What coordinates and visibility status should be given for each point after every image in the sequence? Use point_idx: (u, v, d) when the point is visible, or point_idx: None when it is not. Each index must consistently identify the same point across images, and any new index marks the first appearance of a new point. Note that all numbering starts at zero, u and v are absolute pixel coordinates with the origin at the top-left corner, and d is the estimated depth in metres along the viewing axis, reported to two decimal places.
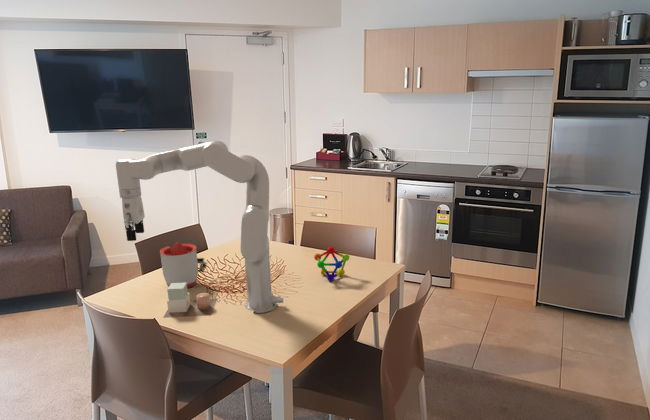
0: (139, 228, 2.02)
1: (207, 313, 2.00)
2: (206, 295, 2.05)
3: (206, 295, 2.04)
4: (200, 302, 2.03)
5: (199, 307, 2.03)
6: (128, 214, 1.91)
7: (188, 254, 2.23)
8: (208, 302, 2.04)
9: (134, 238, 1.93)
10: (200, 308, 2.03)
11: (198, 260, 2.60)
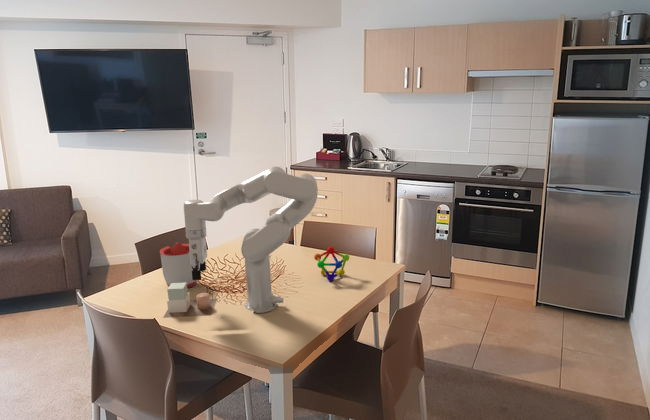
0: (201, 266, 2.06)
1: (207, 313, 2.00)
2: (206, 295, 2.05)
3: (206, 295, 2.04)
4: (200, 302, 2.03)
5: (199, 307, 2.03)
6: (195, 254, 1.95)
7: (188, 254, 2.23)
8: (208, 302, 2.04)
9: (199, 277, 1.97)
10: (200, 308, 2.03)
11: None
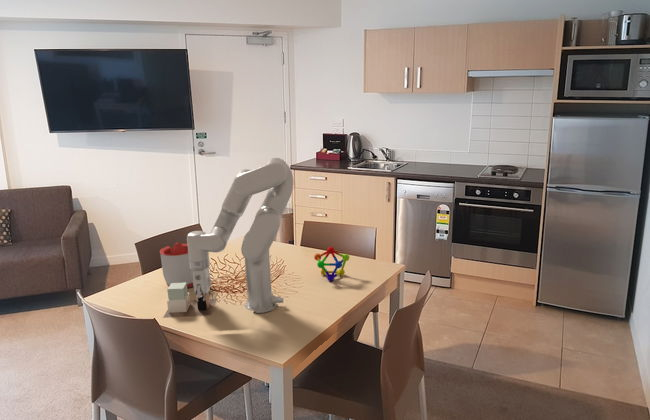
0: None
1: (207, 313, 2.00)
2: (206, 295, 2.05)
3: (206, 295, 2.04)
4: None
5: None
6: (199, 287, 1.98)
7: None
8: (208, 302, 2.04)
9: (205, 308, 2.03)
10: None
11: None
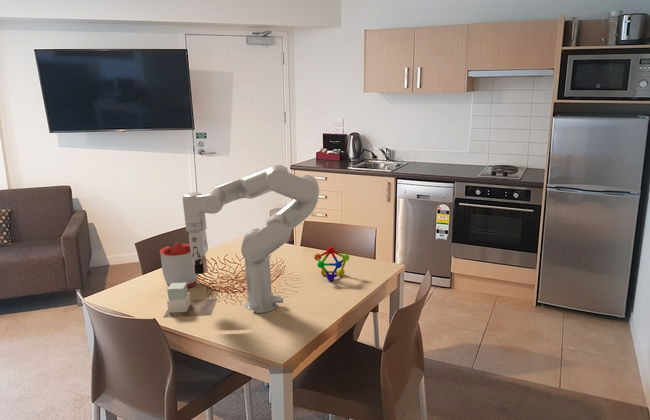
0: None
1: (207, 313, 2.00)
2: (203, 258, 2.01)
3: (203, 259, 2.01)
4: None
5: None
6: (195, 249, 1.95)
7: (188, 254, 2.23)
8: (205, 266, 2.00)
9: (202, 271, 1.99)
10: None
11: None
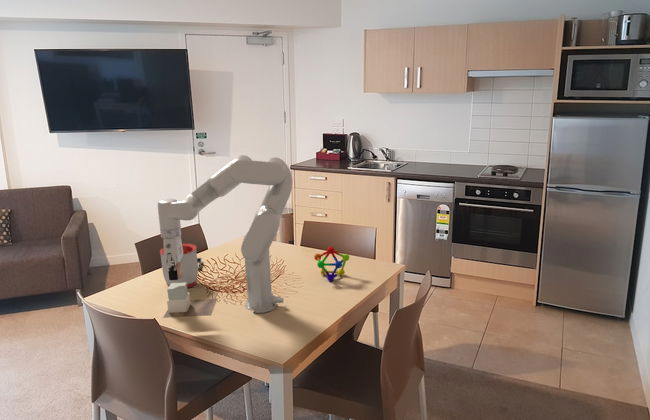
0: None
1: (207, 313, 2.00)
2: (177, 264, 2.01)
3: (178, 265, 2.01)
4: None
5: None
6: (169, 255, 1.95)
7: (188, 254, 2.23)
8: (179, 272, 2.01)
9: (176, 278, 1.99)
10: None
11: None
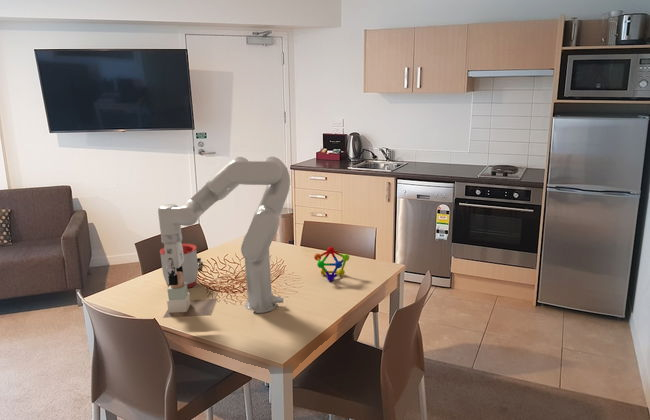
0: None
1: (207, 313, 2.00)
2: (179, 273, 2.02)
3: (179, 273, 2.02)
4: None
5: (172, 285, 2.01)
6: (170, 260, 1.95)
7: (188, 254, 2.23)
8: (181, 280, 2.01)
9: (176, 282, 1.98)
10: (173, 286, 2.01)
11: None
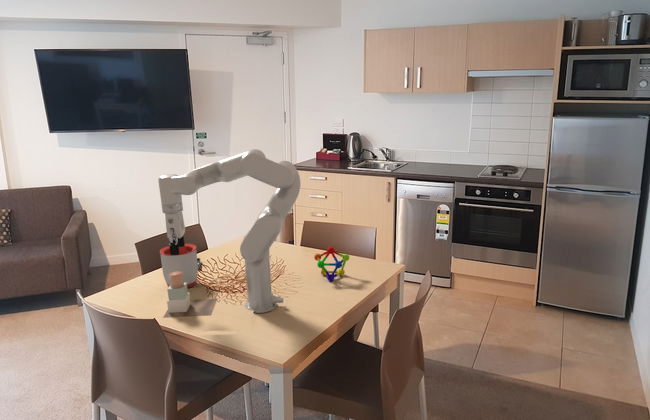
0: (180, 242, 2.05)
1: (207, 313, 2.00)
2: (179, 273, 2.02)
3: (179, 273, 2.02)
4: (173, 281, 2.00)
5: (172, 285, 2.01)
6: (172, 229, 1.94)
7: (188, 254, 2.23)
8: (181, 280, 2.01)
9: (177, 252, 1.96)
10: (173, 286, 2.01)
11: None
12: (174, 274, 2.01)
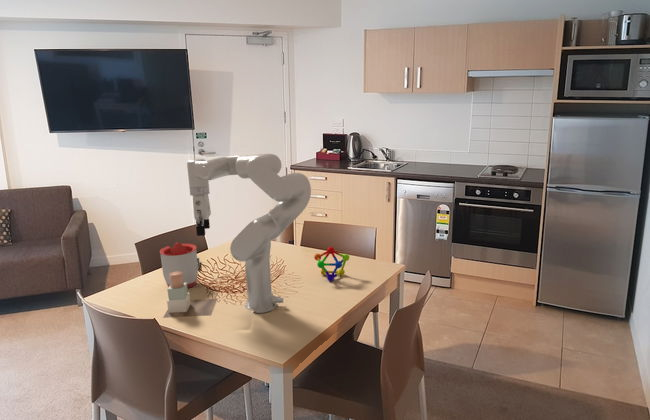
0: (205, 224, 2.15)
1: (207, 313, 2.00)
2: (179, 273, 2.02)
3: (179, 273, 2.02)
4: (173, 281, 2.00)
5: (172, 285, 2.01)
6: (199, 211, 2.04)
7: (188, 254, 2.23)
8: (181, 280, 2.01)
9: (203, 233, 2.06)
10: (173, 286, 2.01)
11: None
12: (174, 274, 2.01)
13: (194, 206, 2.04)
